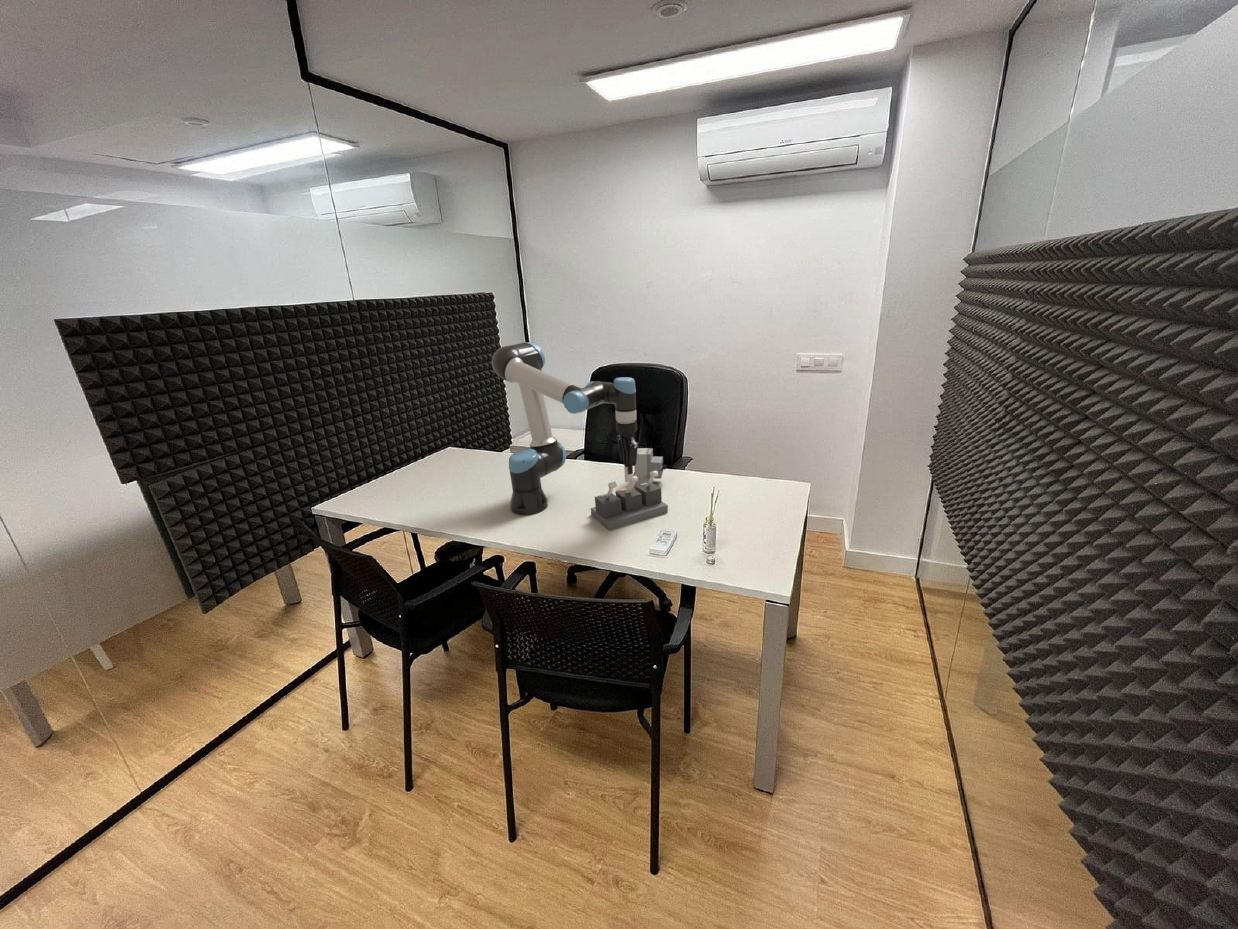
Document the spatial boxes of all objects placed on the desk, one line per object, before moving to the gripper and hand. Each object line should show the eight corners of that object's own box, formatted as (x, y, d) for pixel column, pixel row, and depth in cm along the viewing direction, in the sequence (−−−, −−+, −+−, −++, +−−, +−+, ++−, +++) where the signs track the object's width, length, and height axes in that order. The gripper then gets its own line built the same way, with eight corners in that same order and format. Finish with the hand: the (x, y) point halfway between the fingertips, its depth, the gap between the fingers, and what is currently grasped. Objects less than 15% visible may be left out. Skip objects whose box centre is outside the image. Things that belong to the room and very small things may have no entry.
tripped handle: (624, 489, 185) (630, 476, 178) (629, 488, 186) (635, 474, 179) (626, 494, 184) (632, 480, 177) (632, 492, 185) (638, 479, 178)
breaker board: (591, 515, 189) (588, 474, 183) (647, 498, 201) (646, 460, 194) (609, 530, 177) (606, 487, 171) (667, 512, 188) (667, 471, 182)
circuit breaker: (665, 486, 211) (664, 454, 206) (633, 485, 214) (631, 453, 209) (666, 480, 218) (666, 448, 213) (635, 479, 221) (634, 448, 216)
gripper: (644, 423, 170) (646, 484, 179) (626, 415, 181) (629, 473, 190) (626, 426, 167) (629, 489, 176) (608, 418, 178) (612, 477, 186)
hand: (629, 480), depth 183 cm, fingers closed
